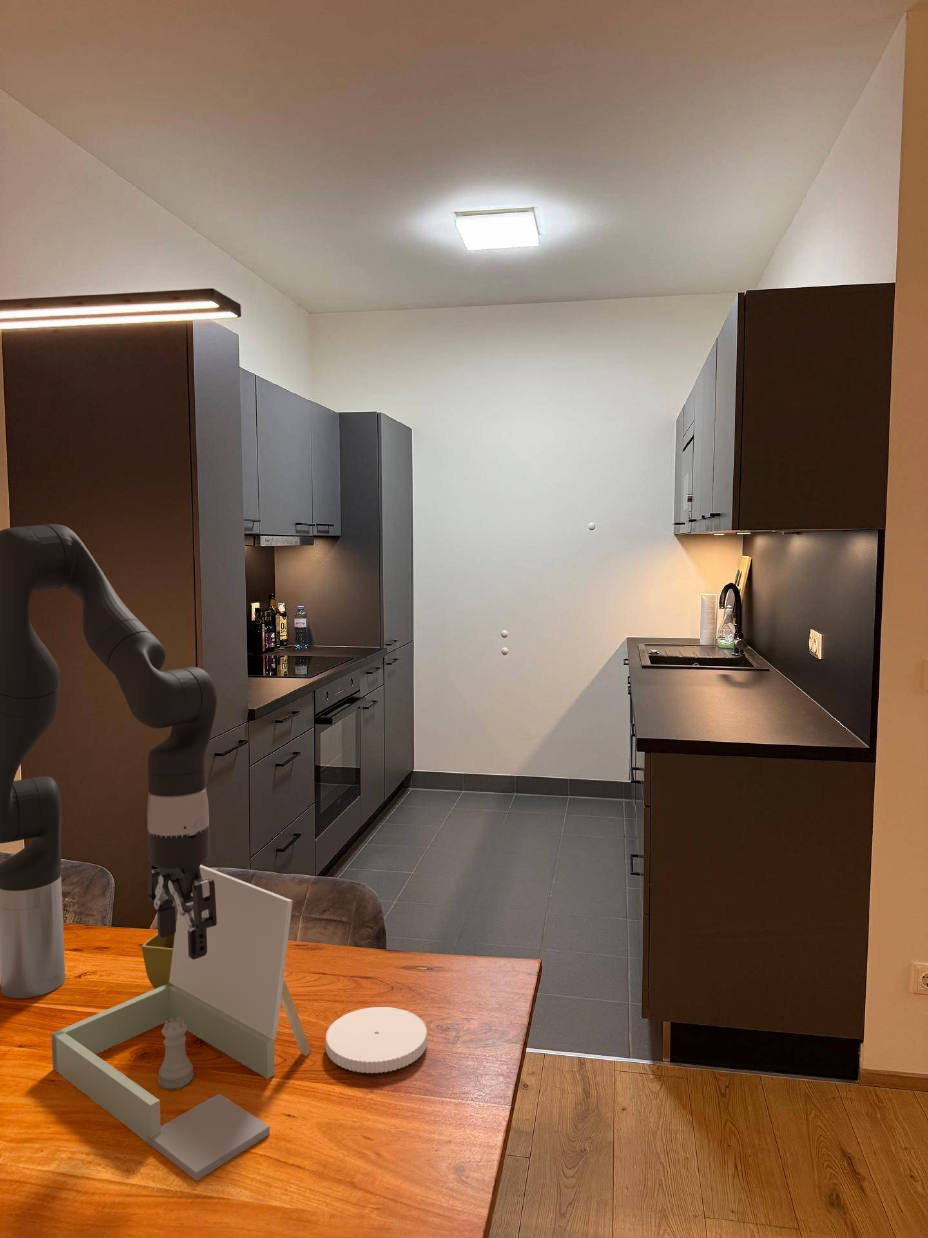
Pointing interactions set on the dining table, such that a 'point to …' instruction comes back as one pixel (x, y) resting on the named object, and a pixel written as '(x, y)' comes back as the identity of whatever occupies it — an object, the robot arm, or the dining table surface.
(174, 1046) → the rook chess piece
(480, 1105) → the dining table surface
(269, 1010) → the lid propped
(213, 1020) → the frame
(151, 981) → the flower pot
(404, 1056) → the plastic lid
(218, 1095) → the slate tile
